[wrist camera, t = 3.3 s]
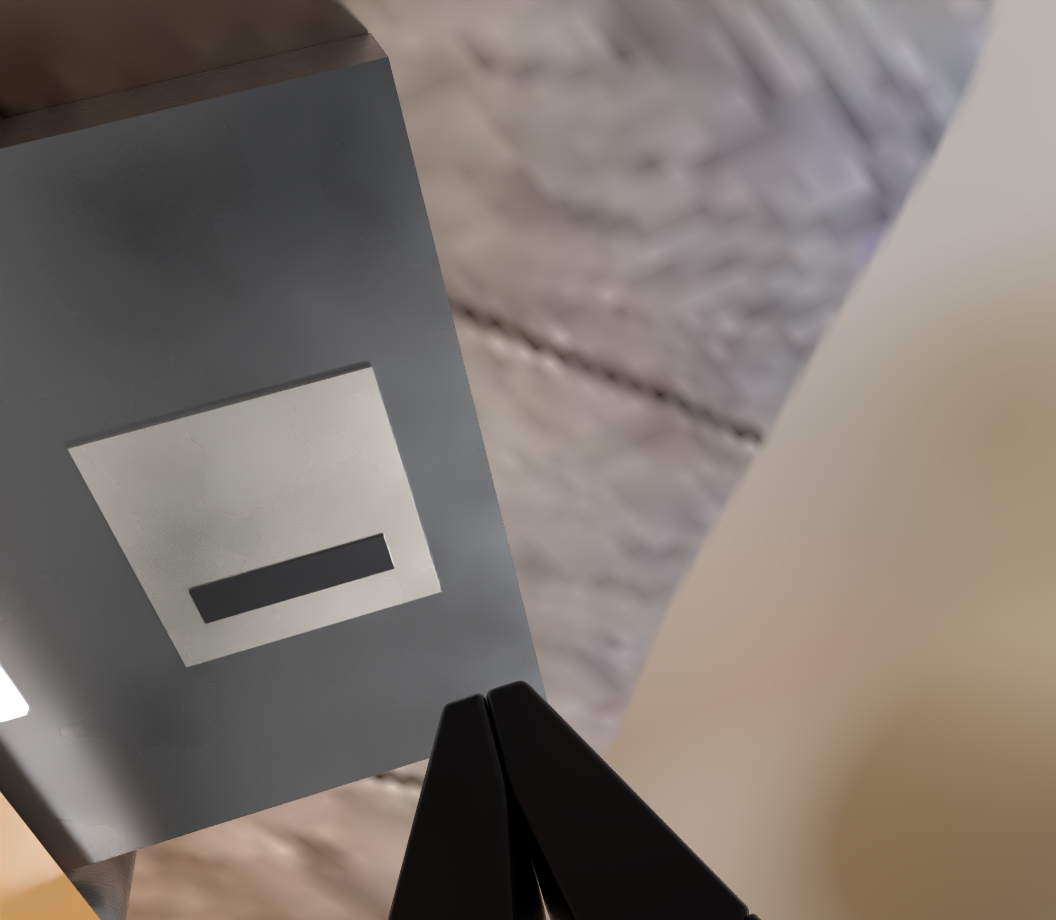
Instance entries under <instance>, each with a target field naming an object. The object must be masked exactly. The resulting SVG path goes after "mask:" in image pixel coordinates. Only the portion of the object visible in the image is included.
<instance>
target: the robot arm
mask: <svg viewBox="0 0 1056 920" xmlns="http://www.w3.org/2000/svg"><path fill="white" fill-rule="evenodd" d="M486 698H487V700H486ZM486 698H485V696H484V695H483V694H480V693H478V694H474V695H470V696H467V697H464V698H461V699H457V700H454V701H451V702H449V703H447V704H446V705H445V706H444V708H443V710H442V713H441V717H440V721H439V725H438V728H437V732H436V736H435V740H434V744H433V748H432V752H431V755H430V759H429V763H428V767H427V771H426V775H425V779H424V782H423V786H422V790H421V794H420V798H419V802H418V805H417V809H416V813H415V817H414V821H413V825H412V829H411V832H410V836H409V840H408V844H407V848H406V852H405V856H404V859H403V863H402V867H401V871H400V875H399V879H398V883H397V886H396V890H395V894H394V898H393V902H392V906H391V909H390V913H389V917H388V920H546V915H545V910H544V905H543V901H542V898H541V893H542V896H543V899H544V902H545V906H546V909H547V912H548V914H549V917H550V920H761V919H759V918H758V916H757V915H755V914H750V915H749V910H748V907H747V906H746V905H745V904H744V903H743V902H742V901H741V900H740V899H739V898H738V897H737V896H736V895H735V894H734V893H733V892H732V891H731V889H729V888H728V887H727V885H726V884H725V883H724V882H723V881H722V880H721V879H720V878H719V877H718V876H717V875H716V874H715V873H714V872H713V871H712V870H711V869H710V868H709V867H708V866H707V865H706V864H705V863H704V862H703V861H702V860H701V859H700V858H699V857H698V856H697V855H696V854H695V853H694V852H693V851H692V850H691V849H690V848H689V847H688V846H687V845H686V844H685V843H684V842H683V841H682V840H681V839H680V837H678V835H677V834H675V832H674V831H672V829H671V828H670V827H669V826H668V825H666V823H665V822H664V821H663V820H662V819H661V818H660V817H659V816H658V815H657V814H656V813H655V812H654V811H653V810H652V809H651V808H650V807H649V806H648V805H647V804H646V803H645V802H644V801H643V800H642V799H641V798H640V797H639V796H638V795H637V794H636V793H635V792H634V791H633V790H632V789H631V788H630V787H629V786H628V784H627V783H626V782H625V781H624V780H623V779H622V778H620V776H619V775H618V774H617V773H616V772H615V771H614V770H613V769H612V768H611V767H610V766H609V765H608V764H607V763H606V762H605V761H604V760H603V759H602V758H601V757H600V756H599V755H598V754H597V753H596V752H595V751H594V750H593V749H592V748H591V747H590V746H589V745H588V744H587V743H586V742H585V741H584V740H583V739H582V738H581V737H580V736H579V735H578V733H577V732H576V731H575V730H574V729H573V728H572V727H571V726H570V725H569V724H568V723H567V722H566V721H565V720H564V719H563V718H562V717H561V716H560V715H559V714H558V713H557V712H556V711H555V710H554V709H553V708H552V707H551V706H550V705H549V704H548V703H547V702H546V701H545V700H544V699H543V698H542V697H541V696H540V695H539V694H538V693H537V692H536V691H535V690H534V689H533V688H532V687H531V686H530V685H529V684H528V683H527V682H525V681H522V680H520V681H516V682H513V683H509V684H506V685H503V686H500V687H496V688H493V689H491V690H489V691H488V692H487V695H486ZM535 873H536V874H535ZM536 876H537V877H536ZM537 880H538V881H537ZM538 883H539V885H538ZM539 886H540V889H541V893H540V889H539Z"/></svg>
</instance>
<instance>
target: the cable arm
mask: <svg viewBox="0 0 1056 920" xmlns="http://www.w3.org/2000/svg"><path fill="white" fill-rule="evenodd" d="M0 920H100V918H99V917H98V916H97V915H96V913H95V912H94V911H93V909H92V908H91V907H90V906H89V904H88V903H87V902H86V901H85V899H84V898H83V897H82V895H81V894H80V893H79V892H78V890H77V889H76V888H75V886H74V885H73V884H72V883H71V881H70V880H69V879H68V878H67V876H66V875H65V874H64V872H63V871H62V870H61V869H60V867H59V866H58V865H57V863H56V862H55V861H54V860H53V858H52V857H51V856H50V855H49V853H48V852H47V851H46V849H45V848H44V847H43V846H42V844H41V843H40V842H39V840H38V839H37V838H36V837H35V835H34V834H33V833H32V832H31V830H30V829H29V828H28V826H27V825H26V824H25V823H24V821H23V820H22V819H21V817H20V816H19V815H18V814H17V812H16V811H15V810H14V808H13V807H12V806H11V805H10V803H9V802H8V801H7V800H6V798H5V797H4V796H3V794H2V793H1V792H0Z"/></svg>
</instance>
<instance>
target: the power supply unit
mask: <svg viewBox="0 0 1056 920" xmlns="http://www.w3.org/2000/svg"><path fill="white" fill-rule="evenodd" d="M520 680H522V681H525V682H527V683H528V684H529V685H530V686H531V687H532V688H533V689H534V690H535V691H536V692H537V693H538V694H539V695H540V696H541V697H542V698H543V699H544V700H545V701H546V702H547V698H546V694H545V690H544V686H543V682H542V678H541V674H540V670H539V666H538V662H537V658H536V654H535V650H534V646H533V641H532V637H531V633H530V629H529V625H528V621H527V617H526V613H525V609H524V605H523V601H522V597H521V593H520V589H519V585H518V581H517V577H516V573H515V569H514V565H513V560H512V556H511V552H510V548H509V544H508V540H507V536H506V532H505V528H504V524H503V520H502V516H501V512H500V508H499V504H498V500H497V496H496V492H495V488H494V484H493V479H492V475H491V471H490V467H489V463H488V459H487V455H486V451H485V447H484V443H483V439H482V435H481V431H480V427H479V423H478V419H477V415H476V411H475V407H474V403H473V398H472V394H471V390H470V386H469V382H468V378H467V374H466V370H465V366H464V362H463V358H462V354H461V350H460V346H459V342H458V338H457V334H456V330H455V326H454V322H453V317H452V313H451V309H450V305H449V301H448V297H447V293H446V289H445V285H444V281H443V277H442V273H441V269H440V265H439V261H438V257H437V253H436V249H435V245H434V241H433V236H432V232H431V228H430V224H429V220H428V216H427V212H426V208H425V204H424V200H423V196H422V192H421V188H420V184H419V180H418V176H417V172H416V168H415V164H414V160H413V155H412V151H411V147H410V143H409V139H408V135H407V131H406V127H405V123H404V119H403V115H402V111H401V107H400V103H399V99H398V95H397V91H396V87H395V83H394V79H393V75H392V70H391V66H390V62H389V58H388V56H387V55H386V53H385V52H384V51H383V49H382V48H381V47H380V45H379V44H378V43H377V41H376V40H375V38H374V37H373V36H372V34H371V33H368V34H363V35H359V36H355V37H351V38H346V39H342V40H338V41H333V42H329V43H325V44H321V45H316V46H312V47H308V48H304V49H299V50H295V51H291V52H286V53H282V54H278V55H274V56H269V57H265V58H261V59H256V60H252V61H248V62H244V63H239V64H235V65H231V66H226V67H222V68H218V69H214V70H209V71H205V72H201V73H197V74H192V75H188V76H184V77H179V78H175V79H171V80H167V81H162V82H158V83H154V84H149V85H145V86H141V87H137V88H132V89H128V90H124V91H119V92H115V93H111V94H107V95H102V96H98V97H94V98H90V99H85V100H81V101H77V102H72V103H68V104H64V105H60V106H55V107H51V108H47V109H42V110H38V111H34V112H30V113H25V114H21V115H17V116H12V117H8V118H4V119H0V792H1V793H2V794H3V796H4V797H5V798H6V800H7V801H8V802H9V803H10V805H11V806H12V807H13V808H14V810H15V811H16V812H17V814H18V815H19V816H20V817H21V819H22V820H23V821H24V823H25V824H26V825H27V826H28V828H29V829H30V830H31V832H32V833H33V834H34V835H35V837H36V838H37V839H38V840H39V842H40V843H41V844H42V846H43V847H44V848H45V849H46V851H47V852H48V853H49V855H50V856H51V857H52V858H53V860H54V861H55V862H56V863H57V865H58V866H59V867H60V869H61V870H62V871H63V872H64V874H65V875H66V876H67V878H68V879H69V880H70V881H71V883H72V884H73V885H74V886H75V888H76V889H77V890H78V892H79V893H80V894H81V895H82V897H83V898H84V899H85V901H86V902H87V903H88V904H89V906H90V907H91V908H92V909H93V911H94V912H95V913H96V915H97V916H98V917H99V918H100V920H126V918H127V911H128V904H129V898H130V891H131V884H132V878H133V871H134V864H135V858H136V850H138V849H141V848H144V847H147V846H150V845H154V844H157V843H160V842H163V841H166V840H170V839H173V838H176V837H179V836H182V835H185V834H189V833H192V832H195V831H198V830H201V829H205V828H208V827H211V826H214V825H217V824H221V823H224V822H227V821H230V820H233V819H236V818H240V817H243V816H246V815H249V814H252V813H256V812H259V811H262V810H265V809H268V808H272V807H275V806H278V805H281V804H284V803H287V802H291V801H294V800H297V799H300V798H303V797H307V796H310V795H313V794H316V793H319V792H323V791H326V790H329V789H332V788H335V787H338V786H342V785H345V784H348V783H351V782H354V781H358V780H361V779H364V778H367V777H370V776H374V775H377V774H380V773H383V772H386V771H389V770H393V769H396V768H399V767H402V766H405V765H409V764H412V763H415V762H418V761H421V760H425V759H428V758H430V755H431V752H432V748H433V744H434V740H435V736H436V732H437V728H438V725H439V721H440V717H441V713H442V710H443V708H444V706H445V705H446V704H447V703H449V702H451V701H454V700H457V699H461V698H464V697H467V696H470V695H474V694H478V693H480V694H483V695H484V696H485V698H486V695H487V692H488V691H489V690H491V689H493V688H496V687H500V686H503V685H506V684H509V683H513V682H516V681H520ZM486 700H487V698H486ZM547 703H548V702H547Z"/></svg>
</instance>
